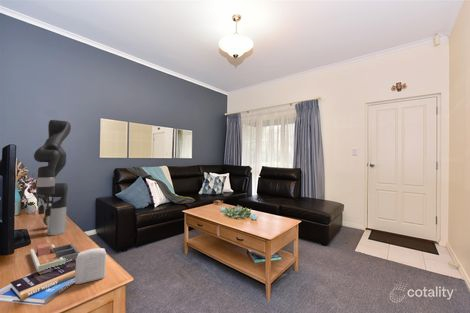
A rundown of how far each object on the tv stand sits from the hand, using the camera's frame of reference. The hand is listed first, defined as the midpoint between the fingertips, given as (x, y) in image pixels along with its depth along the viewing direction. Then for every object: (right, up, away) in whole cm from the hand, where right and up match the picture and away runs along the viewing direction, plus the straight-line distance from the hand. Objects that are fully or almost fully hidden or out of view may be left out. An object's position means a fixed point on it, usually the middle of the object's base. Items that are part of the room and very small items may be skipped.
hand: (44, 215), depth 114 cm
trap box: (+16, -19, -11) cm, 27 cm away
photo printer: (+46, -19, -29) cm, 57 cm away
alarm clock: (-26, -19, +36) cm, 48 cm away
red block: (+5, -19, -6) cm, 20 cm away
